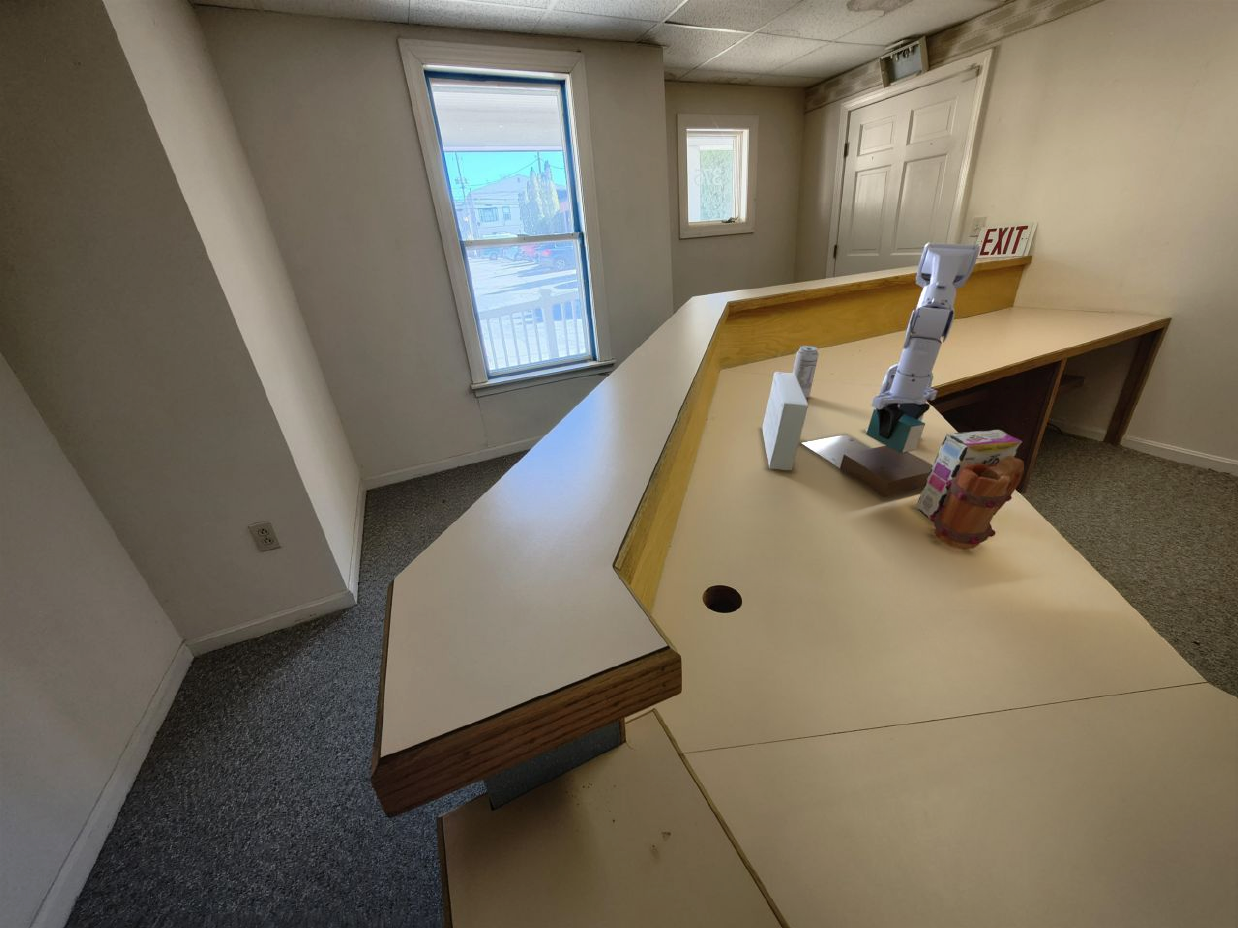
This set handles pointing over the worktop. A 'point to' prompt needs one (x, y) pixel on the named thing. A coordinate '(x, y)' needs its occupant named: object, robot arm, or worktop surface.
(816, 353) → the energy drink can
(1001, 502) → the mug
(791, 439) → the skincare box
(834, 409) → the worktop surface
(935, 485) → the candy bar box
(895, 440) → the teal box
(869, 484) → the step shelf
